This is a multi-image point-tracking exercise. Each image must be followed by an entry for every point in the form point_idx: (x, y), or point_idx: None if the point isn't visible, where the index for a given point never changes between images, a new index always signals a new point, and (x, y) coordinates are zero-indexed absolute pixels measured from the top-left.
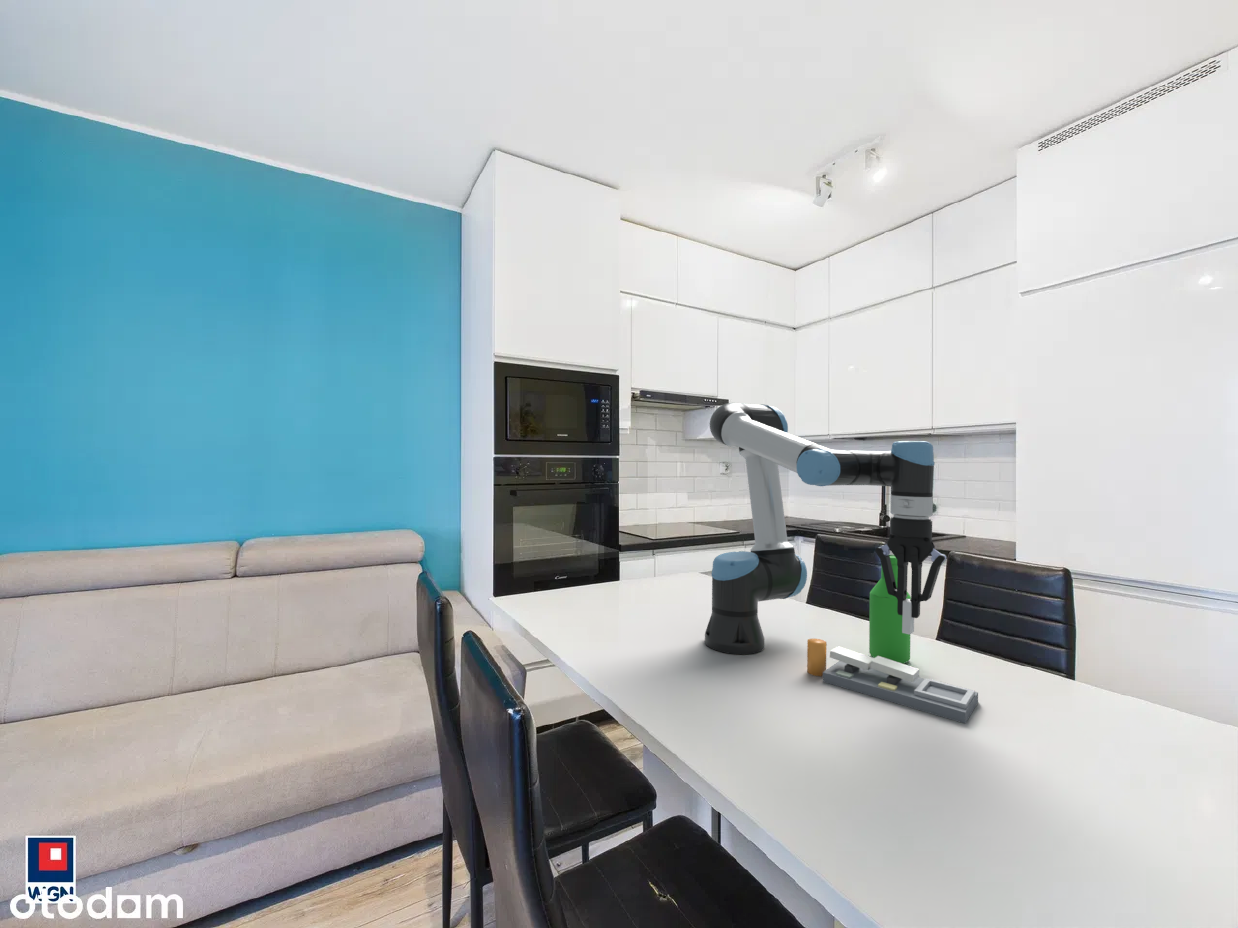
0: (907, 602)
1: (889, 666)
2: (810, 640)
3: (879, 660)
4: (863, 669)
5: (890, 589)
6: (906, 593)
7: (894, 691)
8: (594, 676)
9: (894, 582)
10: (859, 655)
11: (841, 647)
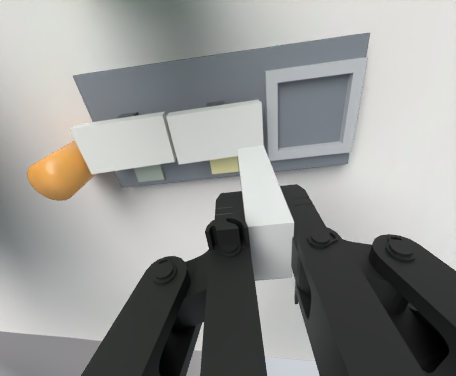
0: (274, 276)
1: (215, 155)
2: (40, 187)
3: (186, 143)
4: (147, 113)
5: (179, 337)
6: (252, 266)
7: (239, 171)
8: (19, 330)
9: (159, 354)
10: (135, 135)
11: (80, 130)
